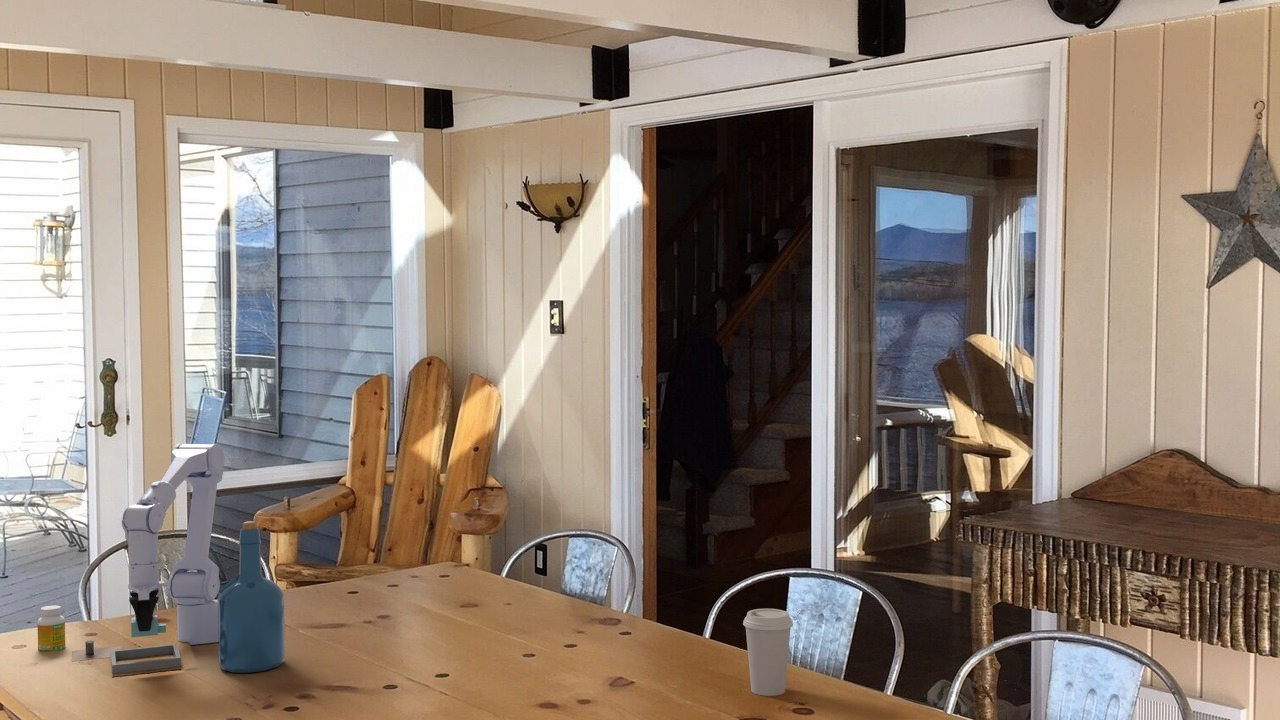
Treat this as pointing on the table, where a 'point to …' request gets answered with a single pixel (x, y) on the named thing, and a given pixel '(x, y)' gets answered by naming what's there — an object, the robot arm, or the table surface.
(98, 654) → the board
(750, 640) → the coffee cup
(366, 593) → the table surface
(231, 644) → the wine bottle
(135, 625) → the teal ring
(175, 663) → the tray
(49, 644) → the supplement bottle
